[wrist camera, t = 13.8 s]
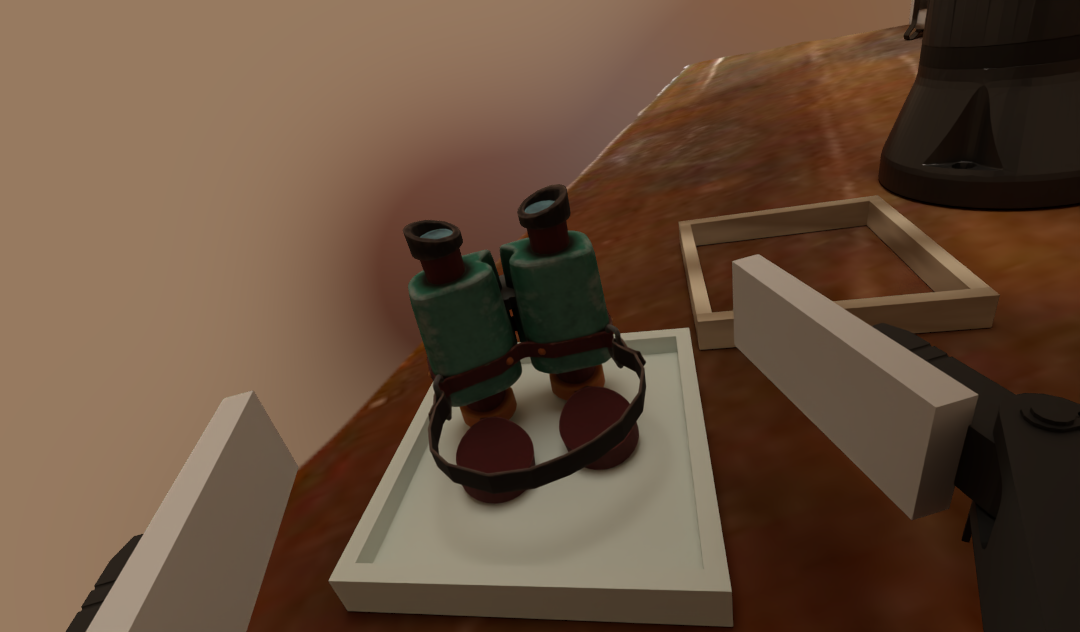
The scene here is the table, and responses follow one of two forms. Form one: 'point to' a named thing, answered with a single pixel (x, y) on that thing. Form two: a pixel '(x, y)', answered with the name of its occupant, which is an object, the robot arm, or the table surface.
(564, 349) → the binoculars
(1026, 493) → the robot arm
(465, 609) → the tray
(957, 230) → the table surface
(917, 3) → the coffee press
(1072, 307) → the table surface
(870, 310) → the holder
